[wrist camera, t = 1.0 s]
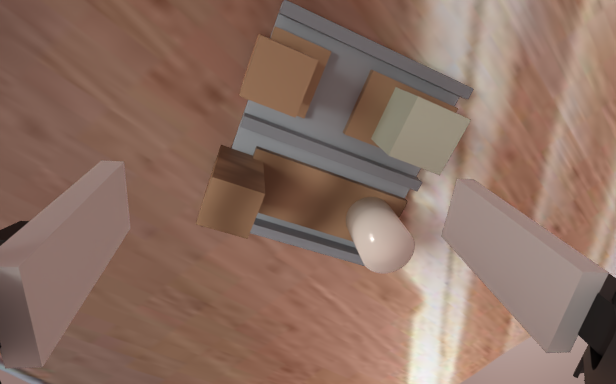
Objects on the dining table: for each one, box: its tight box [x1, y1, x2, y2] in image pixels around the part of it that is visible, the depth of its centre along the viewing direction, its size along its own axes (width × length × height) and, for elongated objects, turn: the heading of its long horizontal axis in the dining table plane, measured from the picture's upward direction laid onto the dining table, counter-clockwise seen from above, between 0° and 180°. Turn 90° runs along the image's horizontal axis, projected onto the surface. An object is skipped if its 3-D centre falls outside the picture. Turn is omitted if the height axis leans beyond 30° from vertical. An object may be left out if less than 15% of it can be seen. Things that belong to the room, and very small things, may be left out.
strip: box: [196, 145, 407, 242], centre depth 33 cm, size 19×6×8 cm, turn 67°
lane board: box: [232, 0, 474, 266], centre depth 32 cm, size 19×20×9 cm
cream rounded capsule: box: [346, 197, 415, 273], centre depth 35 cm, size 5×5×6 cm
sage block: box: [371, 87, 471, 175], centre depth 32 cm, size 5×5×5 cm
